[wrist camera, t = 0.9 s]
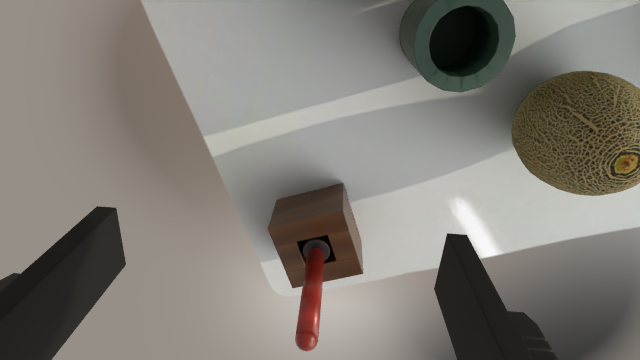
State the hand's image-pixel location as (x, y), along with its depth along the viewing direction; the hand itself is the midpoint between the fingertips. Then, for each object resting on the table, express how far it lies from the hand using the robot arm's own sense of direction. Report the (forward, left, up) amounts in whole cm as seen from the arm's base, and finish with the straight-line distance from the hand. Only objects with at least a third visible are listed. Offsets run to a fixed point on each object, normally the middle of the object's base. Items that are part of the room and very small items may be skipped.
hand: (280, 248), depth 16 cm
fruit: (+10, +23, -33) cm, 41 cm away
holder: (+17, -6, -33) cm, 37 cm away
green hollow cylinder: (-2, +13, -33) cm, 35 cm away
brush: (+17, -6, -33) cm, 37 cm away
